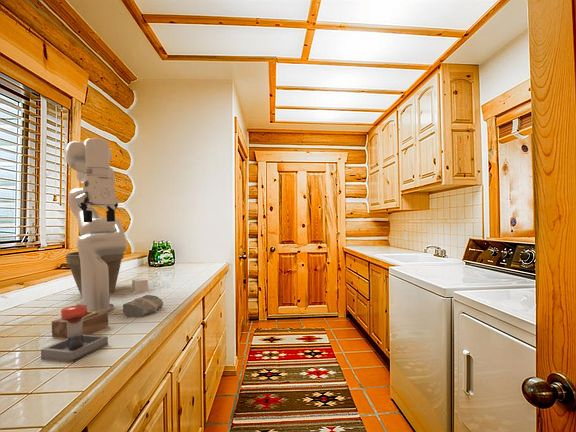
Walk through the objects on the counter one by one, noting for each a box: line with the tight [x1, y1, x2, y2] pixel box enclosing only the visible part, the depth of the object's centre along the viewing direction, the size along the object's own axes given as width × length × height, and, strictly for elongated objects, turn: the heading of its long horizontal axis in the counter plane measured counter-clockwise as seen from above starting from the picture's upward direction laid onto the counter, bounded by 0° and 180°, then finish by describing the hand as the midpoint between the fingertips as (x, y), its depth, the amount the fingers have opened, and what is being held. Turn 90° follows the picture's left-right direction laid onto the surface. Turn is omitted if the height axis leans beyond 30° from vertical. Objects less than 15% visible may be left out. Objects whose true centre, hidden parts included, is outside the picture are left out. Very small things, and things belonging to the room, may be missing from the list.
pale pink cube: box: [131, 277, 149, 294], centre depth 158 cm, size 6×6×6 cm
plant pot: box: [65, 251, 125, 297], centre depth 156 cm, size 25×25×22 cm
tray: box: [40, 334, 109, 363], centre depth 87 cm, size 11×11×2 cm
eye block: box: [51, 311, 109, 339], centre depth 103 cm, size 11×11×6 cm
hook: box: [60, 304, 87, 351], centre depth 87 cm, size 6×6×12 cm
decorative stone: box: [122, 294, 164, 318], centre depth 121 cm, size 13×10×6 cm
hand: (99, 221), depth 110 cm, fingers open, 9 cm apart
